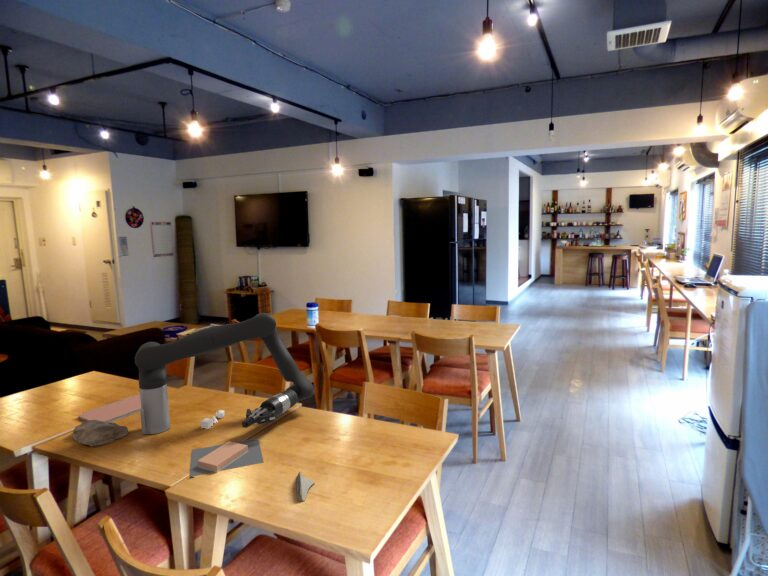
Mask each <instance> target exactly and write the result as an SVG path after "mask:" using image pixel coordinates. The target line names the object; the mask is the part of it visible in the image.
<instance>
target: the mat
mask: <svg viewBox="0 0 768 576" xmlns="http://www.w3.org/2000/svg"><path fill="white" fill-rule="evenodd" d="M235 443H239V444H244V445H248V452H247V453H245V454H244V455H242V456H241V457H239V458H238V459H237V460H235V461H234V462H232V463H231V464H229V465H228V466H226V467H225V468H223V469H222V470H220V471H219V472H222V471H226V470H227V471H228V470H232V469H237V468H243V467H247V466H253V465H258V464H259V465H260V464H263V463H264V457H263V454H262V453H263V452H262V449H261V444H260V440H259V438H258V437H257V438H252V439H246V440H245V439H244V440H240V441H235ZM224 444H225V443H223V444H217V445H211V446H206V447H200V448H194V449H191V452H190V453H191V454H190V464H189V465H190V466H189V477H188V478H189V479H194V478H196V476H200V475H207V474H212V473H215V472H214V471H210V470H206V469H203V468H199V467H198V460H199V459H201V458H203V457H204V456H206V455H208V454H209V453H211V452H212V451H214V450H216V449H217V448H219V447H221V446H222V445H224Z"/></svg>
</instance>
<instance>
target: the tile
mask: <svg viewBox="0 0 768 576" xmlns="http://www.w3.org/2000/svg"><path fill="white" fill-rule="evenodd" d="M235 442H236V441H235ZM235 442H234V441H230V440H229V441H227V442H225V443H223V444H224V445H222V444H221V445H222V446H221V447H219V448H217V449H216V450H214V451H212V452H211V453H209V454H208V455H206V456H204V457H203V458H201V459H199V460H198V467H199V468H203V469H206V470H210V471H214V472H213V473H219V472H221V471H220V470H222V469H223V468H225V467H226V466H228V465H229V464H231V463H232V462H234V461H235V460H237V459H238V458H239V457H241V456H242V455H244V454H245V453H247V452H248V445H244V444H239V443H235Z"/></svg>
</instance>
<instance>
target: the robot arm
mask: <svg viewBox="0 0 768 576" xmlns="http://www.w3.org/2000/svg"><path fill="white" fill-rule="evenodd" d="M259 338H260V339H261V340H262V342H263V343H264V345H265V346H266V348H267V349H268V351H269V353H270V355H271V357H272V359H273V361H274V363H275V366H276V367H277V369H278V371H279V373H280V375H281V376H282V378H283V380H284V381H285V382H287V383H289V382H290V383H294V384H292V385H290V386H288V387H287V388H286V389H285V390H284V391H282V392H279V393H277V394H275V395H272V396H271V397H269V398H268V399H266V400H264V401H262V402H261V404H260V406H259V407H257V408H255V409H254V410H251V409H250V408H247V409H246V411H245V412H246V413H245V419H244V420H242V421H241V426H242V428H244V429H246V428H249V427H250V426H252V425H257V424H258V425H264V424H267V423H272V422H275V421H276V419H277V418H278V417H280V416H281V415H283V414H284V413H286V412H287V411H288V410H290V409H292V408H293V407H294V406H296V404H297V403H298V402H300V401H304V400H306V399H310V398H311V397H312V396H313V395H314V393H315V392H314V391H315V390H314V385H313V384H312V382H311V380H310V379H309V378H308V377H307V376H306V375H305V374H304V373H303V372H302V371H301V370H300V369H299V366H298V365H297V363H296V361H295V360H294V358H293V357H292V354H291V353H290V352H289V350H288V349H287V348H286V345H285V344H284V343H283V341H282V339H281V337H280V336H279V333H278V330H277V321H276V319H275V318H274V317H273V315H271V314H269V313H267V312H260V313H258V314H256V315H254V316H253V317H251V318H248V319H246V320H243V321H240V322H239V321H238V322H235V323H228V324H221V325H215V326H211V327H207V328H203V329H200V330H196V331H195V332H192V333H190V334H189V333H188V334H186V335H184V337H181V338H179V339H177V340H174V341H172V342H171V341H170V342H168V343H163V344H160V343H159V342H157V341H148V342H145V343H143V344H141V346H139V348H138V349H137V352H136V353H135V356H134V364H135V366H136V367H137V368H138V389H139V390H138V391H139V395H140V401H141V409H140V412H139V413H140V422H141V433H142V435H145V434H146V435H154V434H155V435H156V434H160V433H164V432H165V431H168V430H169V429H170V428H171V419H170V416H171V415H170V405H169V396H168V395H169V394H168V385H167V383H168V382H167V365H169V364H172V363H175V362H178V361H180V360H184V359H185V360H186V359H188V358H189V359H190V358H193V357H197V356H198V357H199V356H200V355H205V354H208V353H209V354H210V353H212V352H216V351H218V350H223V349H225V348H228V347H231V346H233V345H235V344H238V343H240V342H243V341H249V340H253V339H259Z"/></svg>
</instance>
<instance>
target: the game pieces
mask: <svg viewBox="0 0 768 576" xmlns="http://www.w3.org/2000/svg"><path fill="white" fill-rule="evenodd" d="M225 416H226V411H225V410H223V409H219V410H217V411H216V412H215V415H213V416H212V417H211V418H207V417H205V418H204V419H202V420H201V421H200V426H201V427H200V429H202V428H205V429H204V430H209V429H211V426H212V427H213V426H214V424H213V423H215V424H217V423H219V421H218V419H221V418H224V417H225ZM216 422H217V423H216Z"/></svg>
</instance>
